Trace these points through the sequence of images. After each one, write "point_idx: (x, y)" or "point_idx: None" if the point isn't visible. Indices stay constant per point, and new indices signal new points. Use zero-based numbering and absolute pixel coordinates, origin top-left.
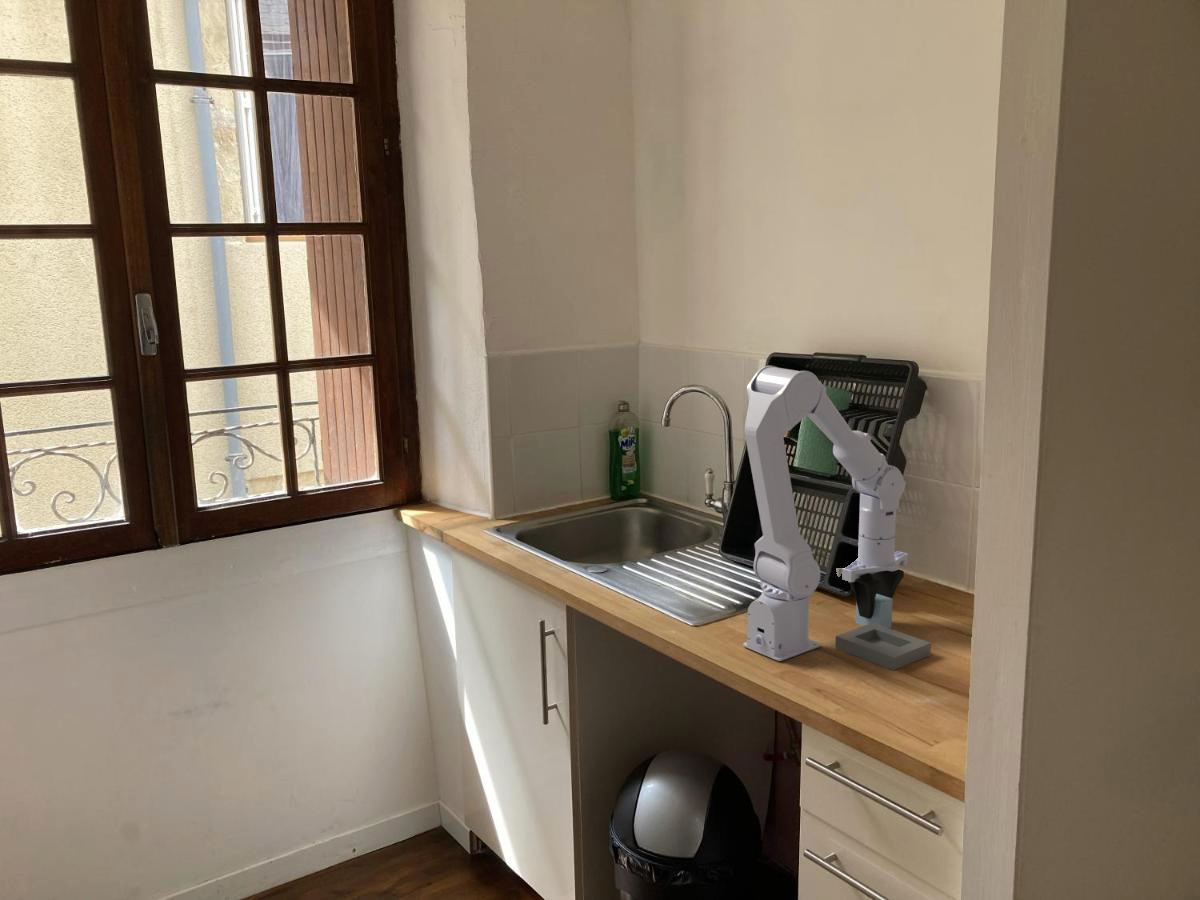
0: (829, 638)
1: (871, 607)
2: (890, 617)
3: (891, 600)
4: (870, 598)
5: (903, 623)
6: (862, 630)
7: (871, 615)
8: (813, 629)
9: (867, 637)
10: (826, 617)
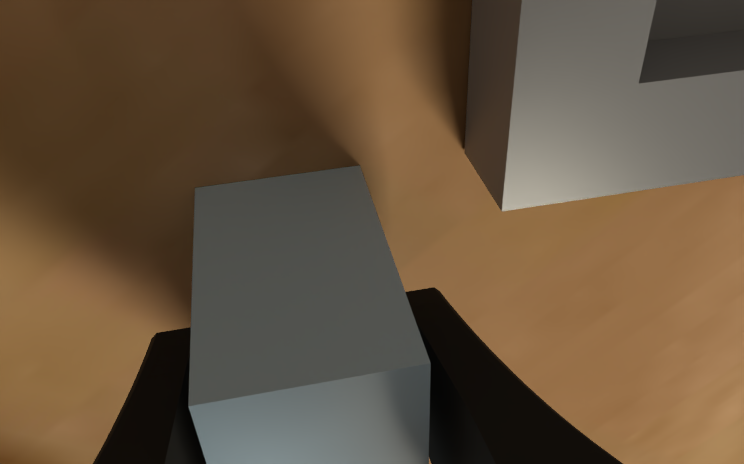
0: (731, 235)
1: (485, 355)
2: (217, 244)
3: (212, 387)
4: (581, 434)
5: (20, 202)
6: (741, 116)
7: (427, 303)
8: (653, 366)
9: (704, 47)
10: None
